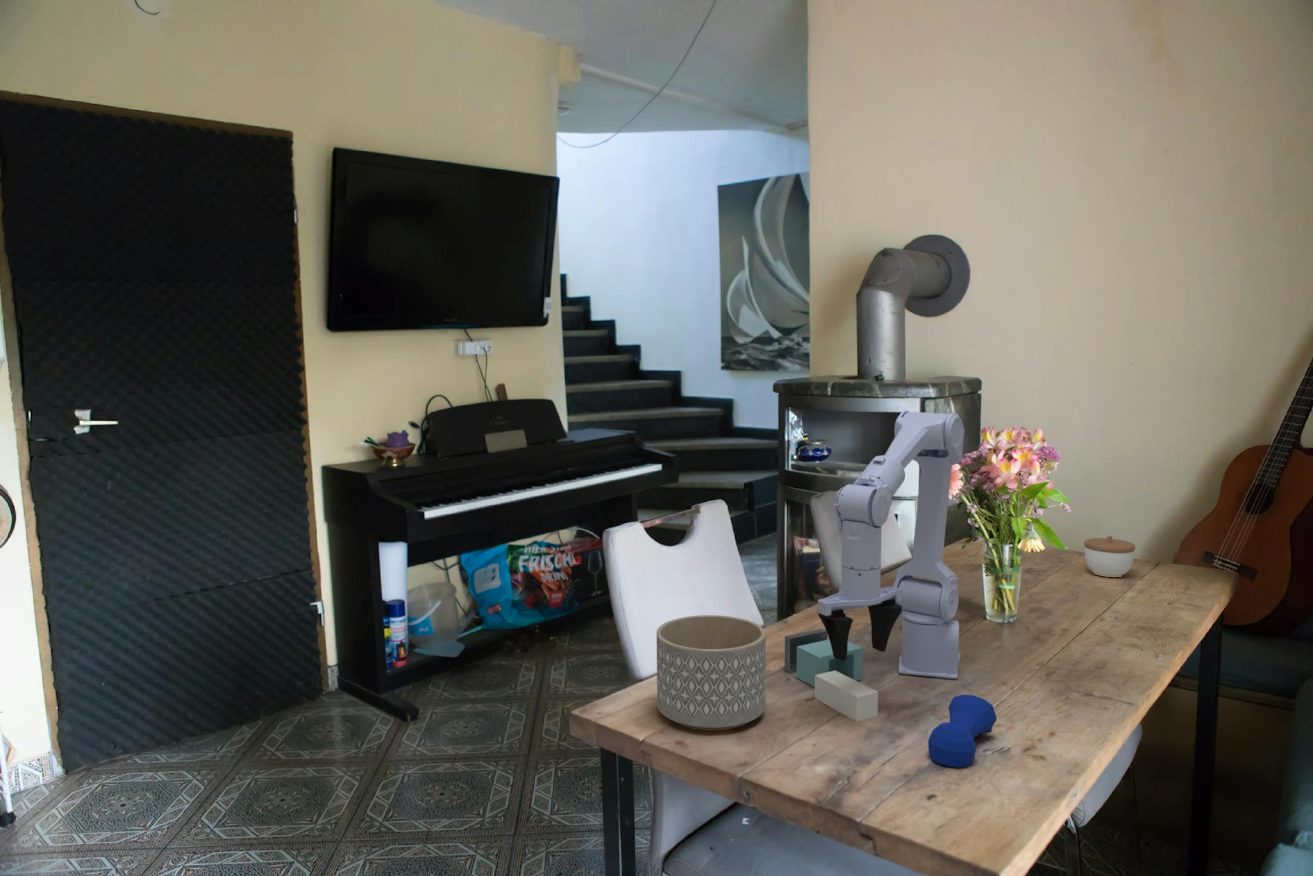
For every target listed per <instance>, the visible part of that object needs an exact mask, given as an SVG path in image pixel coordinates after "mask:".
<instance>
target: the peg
mask: <svg viewBox="0 0 1313 876" xmlns="http://www.w3.org/2000/svg"><path fill="white" fill-rule="evenodd" d="M814 698H815V699H816V700H817V701H820V702H821V703H822V704H825V705H827V706H828V707H829V708H832V709H833V710H835V711H837V712H839V713H841V714H843V715H844V716H845V717H847V718H849V719H850V720H853V721H854V722H856V723H857V722H861V721H865V720H868V719H873V718H876V717H878V714H879V711H878V710H879V709H878V707H879V706H878V705H879V703H878V702H879V692H878V691H877V690H875V689H874V688H870V687H869V686H867V685H865V684H863V683H861V682H859V681H855V680H853V679H851V678H849V677H847V676H845V675H843V674H841V673H839V672H837V671H831V672H826V673H822V674H818V675H815V687H814Z"/></svg>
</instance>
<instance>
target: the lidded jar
mask: <svg viewBox="0 0 1313 876" xmlns="http://www.w3.org/2000/svg"><path fill="white" fill-rule="evenodd" d="M1083 545H1084V546H1083V547H1084V559H1085V563H1086V565H1087V567H1088V568H1089V569H1090V570H1091V572H1093V573H1094V572H1096V573H1099V574H1106V575H1119V574H1124V575H1125V574H1126V573H1128V572H1129V571H1130V570H1131V568H1132V566H1133V562H1134V558H1135V550H1136V544H1134V543H1133V542H1130V541H1127V540H1123V539H1118V538H1113V536H1112V535H1107V536H1106V537H1095V538H1087V539H1085V540H1084V542H1083Z"/></svg>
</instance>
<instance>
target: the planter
mask: <svg viewBox="0 0 1313 876" xmlns="http://www.w3.org/2000/svg"><path fill="white" fill-rule="evenodd" d="M766 637H767V636H766V632H765V629H764V627H763V626H761V625H760V624H758V623H756V622H754V621H750V620H748V619H745V618H740V617H736V616H729V615H717V614H716V615H715V614H714V615H713V614H703V615H701V614H700V615H691V616H684V617H679V618H675V619H671V620H669V621H667V622H665V623H663V624H661V625H659V627H658V628H657V629H656V700H657V701H656V702H657V704H656V705H657V709H658V711H659V712H660V714H662V715H663V716H664V717H666V718H667V719H669V720H671V721H673V722H674V723H676V724H678V725H680V726H681V727H682V726H683V727H686V728H688V729H692V730H697V731H698V730H699V731H711V732H715V731H716V732H718V731H726V730H727V731H728V730H734V729H736V728H739V727H742V726H744V725H746V724H748V723H750V722H752V721H754V720H755V719H757V718H759V717H760V716H761V715H762V714H763V713H764V711H765V709H766Z"/></svg>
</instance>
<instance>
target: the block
mask: <svg viewBox="0 0 1313 876" xmlns="http://www.w3.org/2000/svg"><path fill="white" fill-rule="evenodd" d="M863 653H864V648H863V647H861V646H859V645H857V644H855V643H852V642H851V641H848V647H847V657H846V660H845V661H841V660H839V659H837V658H834V656H833V652H832V647H831V643H830V640H829V639H827V640H825V641H820V642H815V643H811V644H806V645H801V646H797V671H796V679H798V680H800V681H802V682H804V683H806V684H808V685H809V686H811V687H813V688H815V675H818V674H822V673H826V672H831V671H837V672H839V673H841V674H843V675H845V676H847V677H849V678H851V679H853V680H855V681H857V682H859V681H862V680H863V669H864V668H863V667H864V666H863V665H864V664H863V662H864V661H863V658H864V654H863Z"/></svg>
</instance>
